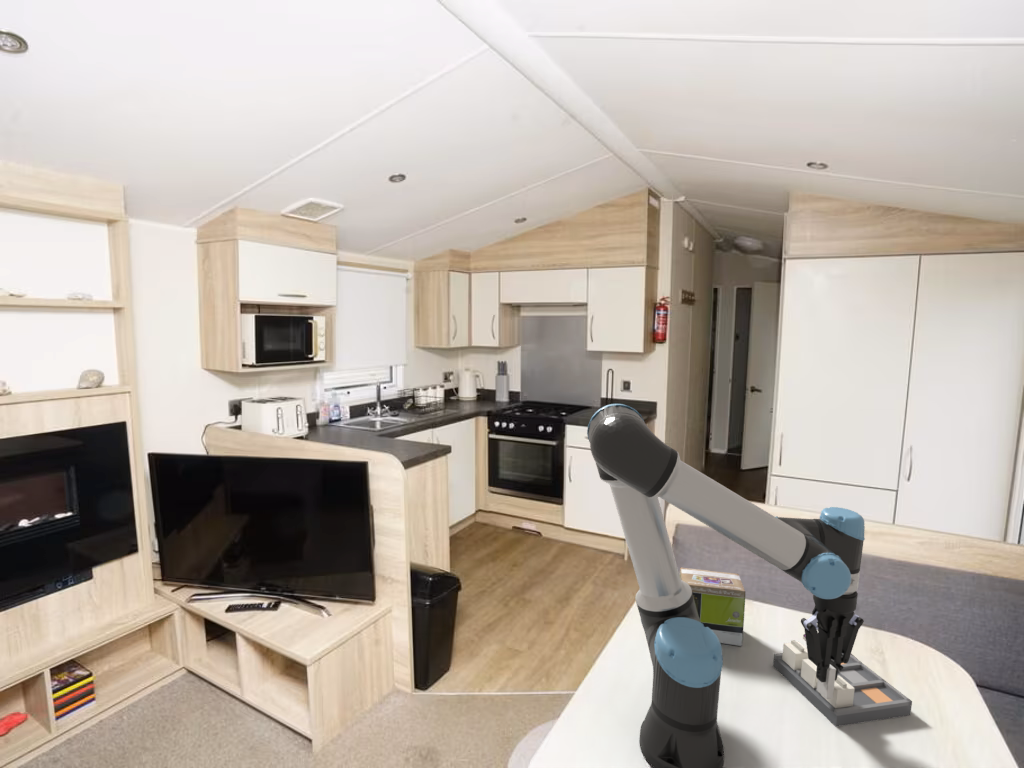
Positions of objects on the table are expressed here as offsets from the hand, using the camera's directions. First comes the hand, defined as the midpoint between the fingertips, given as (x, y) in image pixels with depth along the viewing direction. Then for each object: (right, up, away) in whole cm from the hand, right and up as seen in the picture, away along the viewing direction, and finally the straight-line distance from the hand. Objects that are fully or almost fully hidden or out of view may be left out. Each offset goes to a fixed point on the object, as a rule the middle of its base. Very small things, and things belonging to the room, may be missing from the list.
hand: (824, 694), depth 113 cm
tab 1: (+1, -1, +13) cm, 13 cm away
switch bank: (+8, -4, +8) cm, 12 cm away
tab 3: (+3, -2, +1) cm, 4 cm away
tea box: (-14, -1, +29) cm, 32 cm away
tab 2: (+2, -1, +7) cm, 7 cm away
